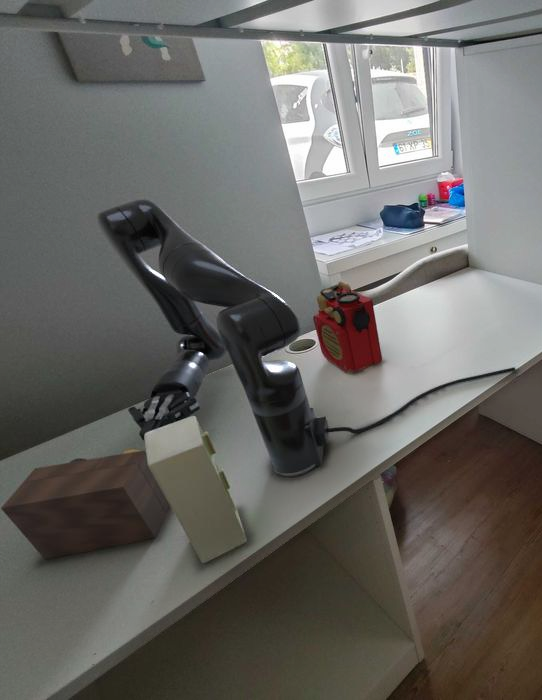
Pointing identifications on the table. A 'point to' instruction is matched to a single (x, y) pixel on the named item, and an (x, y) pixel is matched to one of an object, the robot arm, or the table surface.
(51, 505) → the control box
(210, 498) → the toy refrigerator
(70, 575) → the table surface
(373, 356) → the radio
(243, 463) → the table surface
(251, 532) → the table surface
